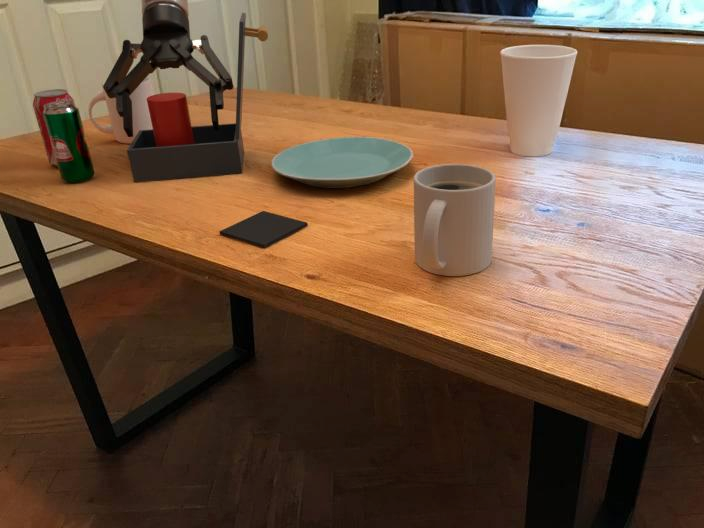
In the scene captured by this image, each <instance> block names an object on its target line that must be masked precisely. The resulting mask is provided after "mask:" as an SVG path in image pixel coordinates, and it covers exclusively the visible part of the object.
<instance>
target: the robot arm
mask: <svg viewBox="0 0 704 528" xmlns="http://www.w3.org/2000/svg"><path fill="white" fill-rule="evenodd" d="M140 1H141V15H142V17H141V20H142V21H141V22H142V24H141V25H142V40H141V43H132V42H131V40H129V39H124V40H123V42H122V48H121V53H120V54H119V56H118V58H117V60H116V61H115V63H114V65H113V67H112V68H111V71H110V73H109V75H108V76H107V78H106V80H105V81H106V82H105V84H104V85H103V87H102V89H103V88H104V90H105V92H106V94H107V96H108V97H109V98H116V110H117V112H118V114H119V115H120V117H123V129H124V130H125V132H126V134H127V136H128V137H133V120H132V101H131V99H130V97H129V96H130V95H131V94H132V93H133V91H134V90H135V89H136V88H137V87H138V86H139V85H140V84H141V83H142V81H143V80H144V79H145V78H146V77H149V75H150V74H153V73H154V72H155V71H156V70H157V69H160V70H167V69H180V67H182V66H183V67H185V69H187V71H189V72H191V73H193V75H195V76H196V77H197V78H198V79H199V80H200V81H202V82H203V83H204V84H206V86H207V87H208V90H209V91H208V93H209V103H210V104H209V105H210V117H211V125H213V127H214V130H219V112H218V111H220V110H224V107H225V104H224V103H225V102H224V92H226V91H227V90H228V91H231V90H233V89H234V83H233V78H232V76H231V74H230V73H229V72H228V70H227V68H226V67H225V66H224V64H223V62H222V61H221V60H220V58H219V57H218V56H217V55H216V53H215V51H214V50H213V48H212V47H211V44H210V41H209V37H208V35H206V34H202V35H201V36H200V39H194V40H193V39H191V30H190V20H189V15H190V14H189V4H188V0H140ZM194 50H197V51H198V52H199V54H201V55H204V57H205V60H206V61H207V62H208V64H209V65H210V67H211V68H212V69H213V71H214V73H215V74H216V75H217V76H218V77H217V76H216V75H214V74H213V73H212V72H211V71H210V70H209V69H208V68H206V67H205V66H204V65H203V64H202V63H201V62H199V60H197V59H196V58H195V57H194V56H193V55H192V54H193V52H194ZM140 53H142V55H141V56H140V59H139V61H138V62H137V63H136V65H135V66H134V67H133V64H134V60H136V59H137V58H138V55H139V54H140ZM132 67H133V68H132ZM131 68H132V69H131Z"/></svg>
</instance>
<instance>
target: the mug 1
mask: <svg viewBox="0 0 704 528" xmlns="http://www.w3.org/2000/svg"><path fill="white" fill-rule="evenodd" d="M105 82H106V80H104V81H102V82H101V86H102V89H101V90H99V91H98V92H96V93H95V94H94V95H93V96H92V97H91V99H90V101H89V103H88V108H87V109H88V115H89V119H90V121H91V123H92V125H93V127H94V128H96V129H97V130H98V131H99V132H101V133H104V134H108V135H113V136H114V139H115V140H116V141H117V142H119V143H121V144H128V145H131V143H132V141H133V140H134V138H135V137H136V135H137V134H138V132H139V131H140V130H152V129H153V128H152V123H151V118H150V113H149V108H148V103H147V98H148V97H150V96H152V95H155V92H154V87H153V82H152V78H151V77H149V76H147V77H146V78H145V79H144V80H143V81H142V83H141V84H140V85H139V86H138V87H137V88H136V89H135V90H134V91H133V93H132V94H131V95H130V96H129V97H130V99H131V101H132V120H133V137H128V136H127V134H126V132H125V130H124V129H123V117H120V115H119V114H118V112H117V110H116V98H109V97H108V96H107V94H106V92H105V90H104V88H103V85H104V84H105ZM102 101H105V103H106V108H107V112H108V115H109V116H108V117H109V120H110V123H109V124H107V125H101V124H99V123H97V122H96V121H95V120H94V118H93V114H92V113H93V112H92V111H93V108H94V107H95V105H96V104H97V103H99V102H102Z"/></svg>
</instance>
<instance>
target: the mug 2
mask: <svg viewBox="0 0 704 528" xmlns="http://www.w3.org/2000/svg"><path fill="white" fill-rule="evenodd" d="M496 179H497V178H496V175H495V173H494V172H493V171H491V170H490V169H487V168H485V167H484V166H483V167H482V166H479V165H474V164H469V163H443V164H436V165H431V166H428V167H424V168H422V169H420V170H418V171H417V172H416V173H414V176H413V227H414V228H413V230H414V232H413V233H414V235H413V236H414V261H415V263H416V265H417V266H418V267H419V268H420V269H422V270H423V271H425V272H427V273H431V274H434V275H438V276H444V277H463V276H470V275H474V274H477V273H480V272H482V271H484V270H486V269H487V268H488V267H489V266H490V265H491V263H492V261H493V246H494V245H493V244H494V243H493V241H494V222H495V203H496V184H497V183H496V182H497V181H496Z"/></svg>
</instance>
